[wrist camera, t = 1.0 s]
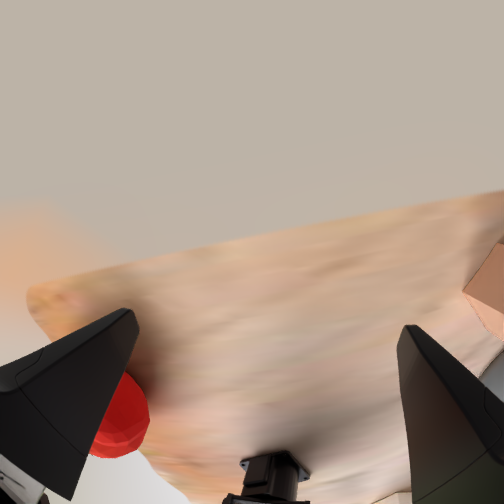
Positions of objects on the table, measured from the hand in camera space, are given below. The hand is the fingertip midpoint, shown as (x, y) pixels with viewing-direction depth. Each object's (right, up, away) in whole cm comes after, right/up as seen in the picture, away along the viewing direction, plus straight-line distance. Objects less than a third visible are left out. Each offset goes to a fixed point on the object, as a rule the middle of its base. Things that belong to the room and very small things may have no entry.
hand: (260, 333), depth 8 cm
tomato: (-17, -14, +20) cm, 30 cm away
